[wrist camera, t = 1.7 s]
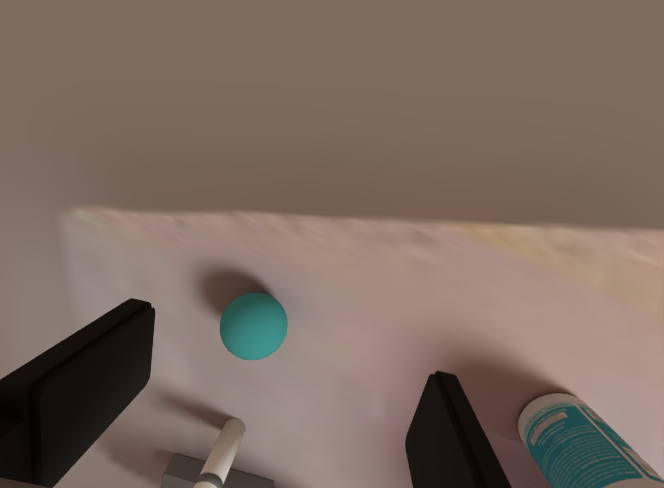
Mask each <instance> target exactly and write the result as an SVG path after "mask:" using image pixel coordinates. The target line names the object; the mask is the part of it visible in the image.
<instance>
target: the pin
mask: <svg viewBox="0 0 664 488" xmlns="http://www.w3.org/2000/svg"><path fill="white" fill-rule="evenodd" d="M244 432H245V425H244V423H243V422H242V421H241V420H239V419H235V418H232V419H229V420H227V421H226V423H225V425H224V427H223V429H222V431H221V433H220V435H219V437H218V439H217V441H216V443H215V445H214V447H213V449H212V451H211V453H210V455H209V457H208V459H207V461H206V463H205V465H204V467H203V469H202V471H201V473H200V475H199V476H198V478H197V480H196V482H195V484H194V486H193V488H223V484H224V482H225V479H226V477H227V474H228V472H229V469H230V467H231V464H232V462H233V459H234V457H235V454H236V452H237V449H238V447H239V444H240V442H241V439H242V437H243V435H244Z"/></svg>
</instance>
